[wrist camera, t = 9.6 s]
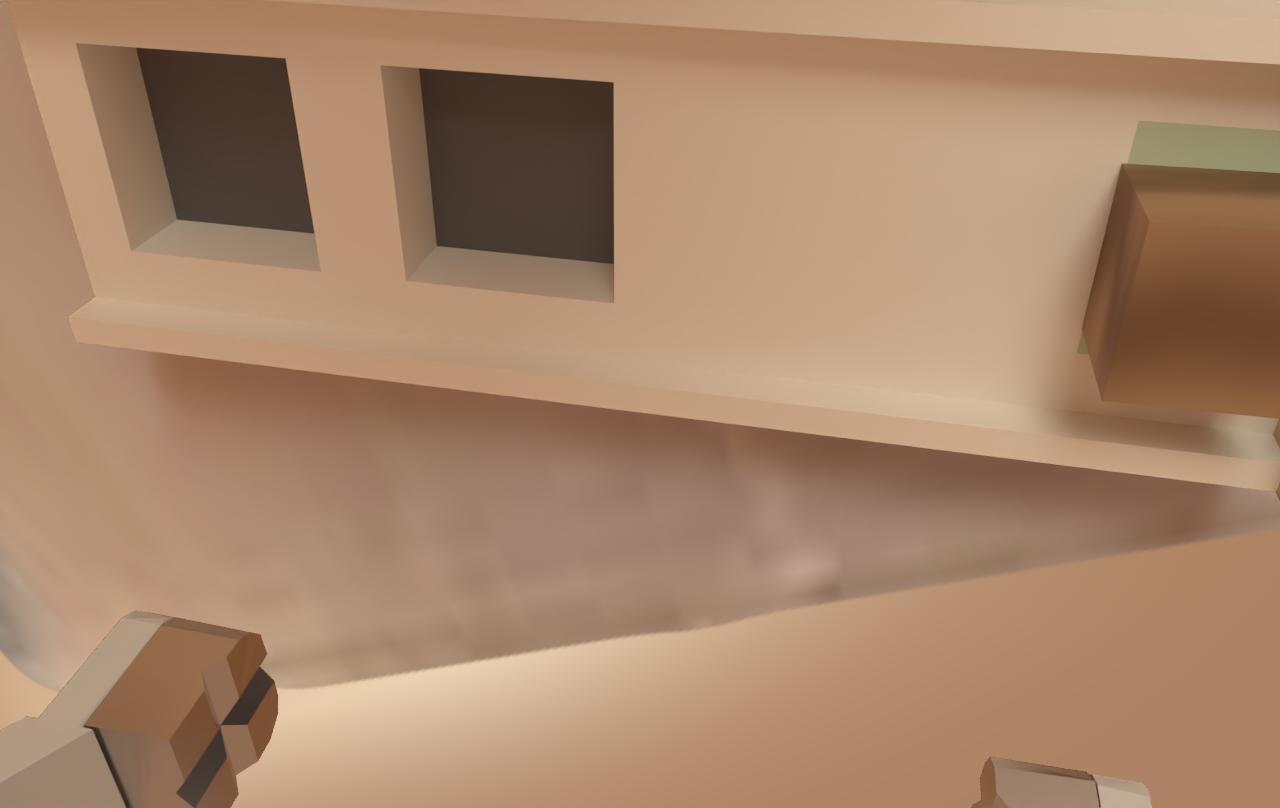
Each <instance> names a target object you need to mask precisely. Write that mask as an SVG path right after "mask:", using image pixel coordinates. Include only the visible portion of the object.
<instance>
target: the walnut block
mask: <svg viewBox="0 0 1280 808" xmlns="http://www.w3.org/2000/svg"><path fill="white" fill-rule="evenodd" d="M1082 331H1083V335H1084V339H1085V342H1086V346H1087V349H1088V353H1089V357H1090V360H1091V364H1092V367H1093V371H1094V374H1095V378H1096V382H1097V385H1098V389H1099V392H1100V396H1101V400H1102V401H1104V402H1115V403H1125V404H1135V405H1145V406H1155V407H1165V408H1175V409H1185V410H1195V411H1206V412H1216V413H1226V414H1236V415H1246V416H1256V417H1266V418H1276V419H1280V173H1271V172H1255V171H1239V170H1223V169H1206V168H1190V167H1174V166H1157V165H1141V164H1125V163H1122V165H1121V169H1120V173H1119V177H1118V182H1117V186H1116V190H1115V194H1114V198H1113V202H1112V206H1111V210H1110V214H1109V219H1108V223H1107V227H1106V231H1105V235H1104V239H1103V243H1102V247H1101V251H1100V256H1099V260H1098V264H1097V268H1096V272H1095V276H1094V280H1093V284H1092V288H1091V293H1090V297H1089V301H1088V305H1087V309H1086V313H1085V317H1084V321H1083V325H1082Z"/></svg>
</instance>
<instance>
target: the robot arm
mask: <svg viewBox="0 0 1280 808" xmlns="http://www.w3.org/2000/svg"><path fill="white" fill-rule="evenodd" d="M266 655H267V653H266V650H265V647H264V644H263V641H262V638H261V635H260V634H255V633H251V632H246V631H241V630H236V629H231V628H226V627H221V626H216V625H211V624H206V623H201V622H196V621H191V620H186V619H181V618H176V617H170V616H165V615H159V614H154V613H148V612H143V611H137V610H135V611H133V612H132V613H130V614H128V615H126V616H125V617H123V618H121V619H120V620H119V621H118V623H117V624H116V625H115V626H114V627H113V629H112V630H111V631H110V632H109V633H108V635H107V636H106V637H105V638H104V639H103V641H102V642H101V643H100V644H99V646H98V647H97V648H96V649H95V650H94V652H93V653H92V654H91V655H90V656H89V658H88V659H87V660H86V661H85V662H84V664H83V665H82V666H81V667H80V668H79V670H78V671H77V672H76V673H75V674H74V676H73V677H72V678H71V679H70V680H69V682H68V683H67V684H66V685H65V686H64V688H63V689H62V690H61V691H60V692H59V694H58V695H57V696H56V697H55V699H54V700H53V701H52V702H51V703H50V704H49V706H48V707H47V708H46V709H45V711H44V712H43V713H42V714H41V715H40V717H39V718H34V717H28V716H26V717H24V718H23V719H21V720H19V721H17V722H15V723H13V724H11V725H9V726H7V727H6V728H3V729H2V730H0V808H230V807H231V806H232V804H233V802H234V801H235V799H236V797H237V796H238V788H237V782H236V775H237V774H238V773H240V772H241V771H243V770H245V769H246V768H248V767H249V766H251V765H252V764H254V763H256V762H257V761H258V760H259V758H260V757H261V755H262V753H263V751H264V750H265V748H266V746H267V744H268V743H269V741H270V739H271V735H272V732H273V728H274V725H275V721H276V718H277V715H278V694H277V690H276V686H275V682H274V680H273V679H272V678H271V677H270V676H269V675H268V674H267V673H266V672H265V671H264V670H263V669H262V668H261V667H260V665H261V663H262V662H263V660H264V659H265V657H266ZM980 786H981V800H980V801H978V802H977V803H975V804H973V805H972V807H971V808H1153V805H1152V800H1151V796H1150V792H1149V791H1148V789H1147V788H1146V786H1145V785H1144V784H1143V783H1142V782H1137V781H1131V780H1125V779H1119V778H1113V777H1107V776H1101V775H1095V774H1088V773H1087V772H1084V771H1078V770H1071V769H1064V768H1059V767H1052V766H1046V765H1039V764H1033V763H1027V762H1020V761H1013V760H1007V759H1001V758H995V757H989V759H988V760H987V761H986V762H985V765H984V768H983V771H982V774H981V777H980Z"/></svg>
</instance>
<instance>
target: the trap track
mask: <svg viewBox="0 0 1280 808" xmlns="http://www.w3.org/2000/svg"><path fill="white" fill-rule="evenodd" d="M7 3H8V6H9V10H10V13H11V16H12V20H13V23H14V26H15V30H16V33H17V37H18V40H19V43H20V47H21V50H22V53H23V57H24V60H25V63H26V67H27V70H28V74H29V77H30V80H31V84H32V87H33V90H34V94H35V97H36V101H37V104H38V107H39V111H40V114H41V117H42V121H43V124H44V128H45V131H46V134H47V138H48V141H49V144H50V148H51V151H52V155H53V158H54V161H55V165H56V168H57V171H58V175H59V178H60V182H61V185H62V188H63V192H64V195H65V198H66V202H67V205H68V209H69V212H70V215H71V219H72V222H73V225H74V229H75V232H76V235H77V239H78V242H79V246H80V249H81V252H82V256H83V259H84V262H85V266H86V269H87V273H88V276H89V279H90V283H91V286H92V289H93V293H94V296H95V298H93V299H92V300H91V301H89V302H88V303H86V304H85V305H84V306H82V307H81V308H79V309H78V310H77V311H75V312H74V313H72V314H71V315H70V316H68V319H69V322H70V326H71V329H72V332H73V335H74V338H75V341H76V342H79V343H87V344H95V345H103V346H111V347H119V348H127V349H135V350H143V351H151V352H159V353H167V354H175V355H183V356H191V357H199V358H207V359H215V360H223V361H231V362H239V363H247V364H255V365H263V366H271V367H279V368H287V369H295V370H303V371H311V372H319V373H327V374H335V375H343V376H351V377H359V378H367V379H375V380H383V381H391V382H399V383H407V384H415V385H423V386H431V387H439V388H447V389H455V390H463V391H471V392H479V393H487V394H495V395H503V396H511V397H519V398H527V399H535V400H543V401H551V402H559V403H567V404H575V405H583V406H591V407H599V408H608V409H616V410H624V411H632V412H640V413H648V414H656V415H664V416H672V417H680V418H688V419H696V420H704V421H712V422H720V423H728V424H736V425H744V426H752V427H760V428H768V429H776V430H784V431H792V432H800V433H808V434H816V435H824V436H832V437H840V438H848V439H856V440H864V441H872V442H880V443H888V444H896V445H904V446H912V447H920V448H928V449H936V450H944V451H952V452H960V453H968V454H976V455H984V456H992V457H1000V458H1008V459H1016V460H1024V461H1032V462H1040V463H1048V464H1056V465H1064V466H1072V467H1080V468H1088V469H1096V470H1104V471H1112V472H1120V473H1128V474H1136V475H1144V476H1152V477H1160V478H1168V479H1176V480H1184V481H1192V482H1200V483H1208V484H1216V485H1224V486H1232V487H1240V488H1248V489H1256V490H1264V491H1272V492H1276V493H1277V495H1278V498H1279V500H1280V419H1276V418H1266V417H1256V416H1246V415H1236V414H1226V413H1216V412H1206V411H1195V410H1185V409H1175V408H1165V407H1155V406H1145V405H1135V404H1125V403H1115V402H1104V401H1102V400H1101V396H1100V392H1099V389H1098V385H1097V382H1096V378H1095V374H1094V371H1093V367H1092V364H1091V360H1090V357H1089V353H1088V349H1087V346H1086V342H1085V339H1084V335H1083V331H1082V325H1083V321H1084V317H1085V313H1086V309H1087V305H1088V301H1089V297H1090V293H1091V288H1092V284H1093V280H1094V276H1095V272H1096V268H1097V264H1098V260H1099V256H1100V251H1101V247H1102V243H1103V239H1104V235H1105V231H1106V227H1107V223H1108V219H1109V214H1110V210H1111V206H1112V202H1113V198H1114V194H1115V190H1116V186H1117V182H1118V177H1119V173H1120V169H1121V165H1122V163H1125V164H1141V165H1157V166H1174V167H1190V168H1206V169H1223V170H1239V171H1255V172H1271V173H1280V0H7Z"/></svg>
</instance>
